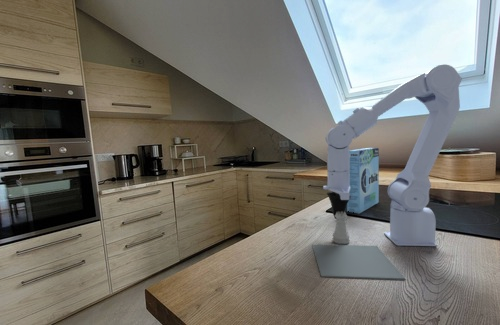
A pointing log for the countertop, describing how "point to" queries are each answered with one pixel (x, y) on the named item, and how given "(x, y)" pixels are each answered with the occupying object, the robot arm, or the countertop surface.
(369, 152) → the gum box
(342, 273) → the mat
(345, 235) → the rook chess piece
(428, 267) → the countertop surface
